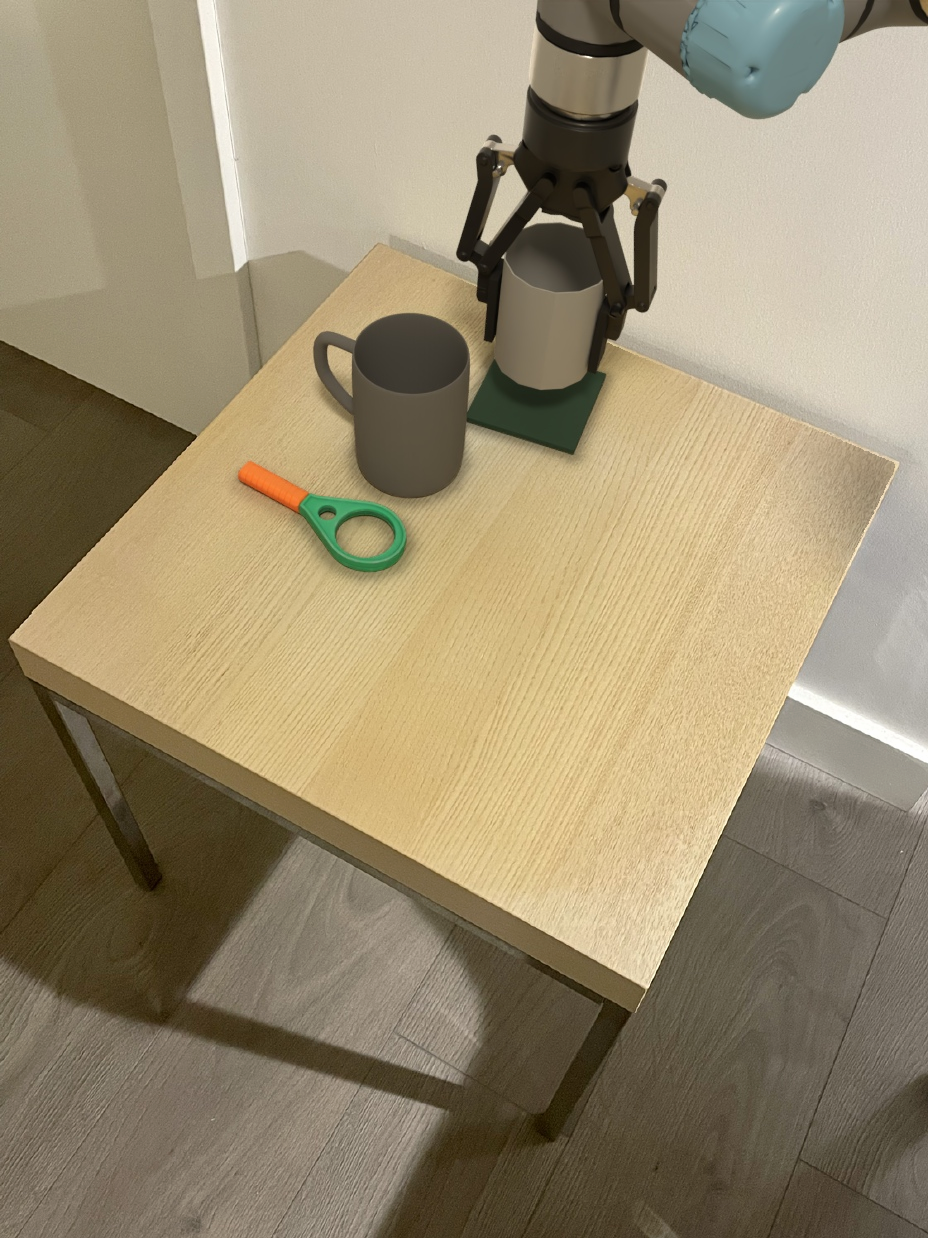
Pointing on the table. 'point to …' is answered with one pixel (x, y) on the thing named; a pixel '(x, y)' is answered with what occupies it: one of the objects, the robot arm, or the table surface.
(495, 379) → the coaster mat
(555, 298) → the cup
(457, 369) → the mug
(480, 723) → the table surface
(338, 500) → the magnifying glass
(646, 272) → the robot arm
